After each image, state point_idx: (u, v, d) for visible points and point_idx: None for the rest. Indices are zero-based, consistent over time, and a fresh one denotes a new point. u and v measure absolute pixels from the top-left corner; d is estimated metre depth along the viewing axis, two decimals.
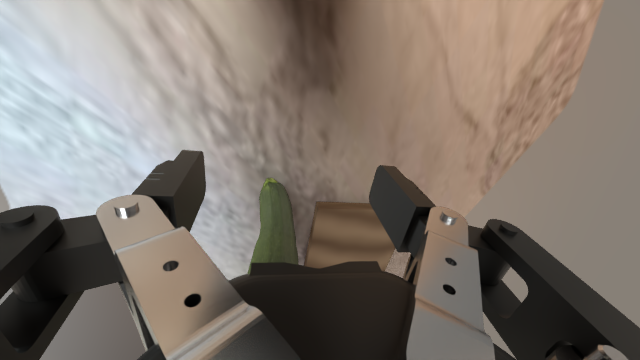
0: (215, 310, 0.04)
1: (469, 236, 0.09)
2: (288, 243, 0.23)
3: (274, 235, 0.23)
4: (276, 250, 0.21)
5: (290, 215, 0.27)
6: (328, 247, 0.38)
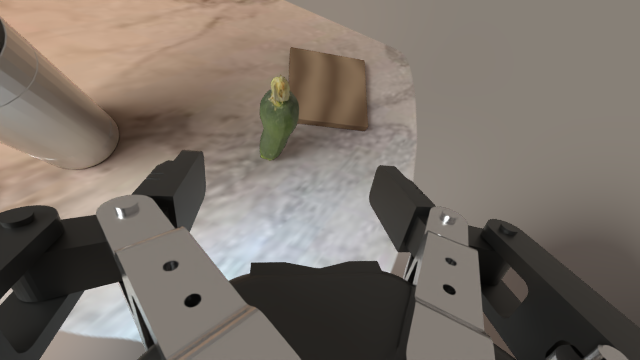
0: (215, 310, 0.04)
1: (469, 236, 0.09)
2: None
3: None
4: None
5: None
6: (332, 108, 0.43)
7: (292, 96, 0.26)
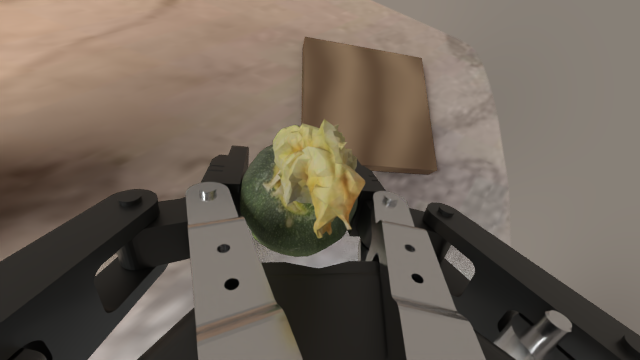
0: (247, 300, 0.04)
1: None
2: None
3: None
4: None
5: None
6: (377, 140, 0.25)
7: None
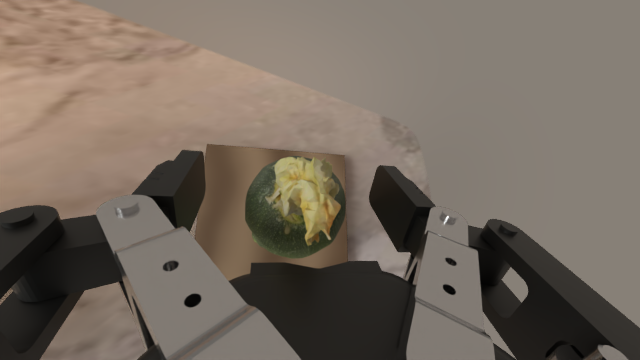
0: (215, 310, 0.04)
1: (469, 236, 0.09)
2: None
3: None
4: None
5: None
6: None
7: None
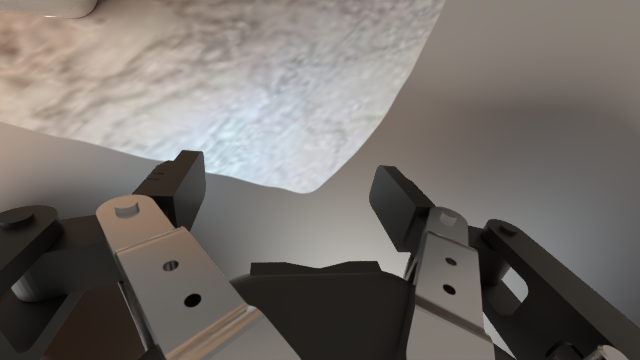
0: (214, 310, 0.04)
1: (469, 236, 0.09)
2: None
3: None
4: None
5: None
6: None
7: None
